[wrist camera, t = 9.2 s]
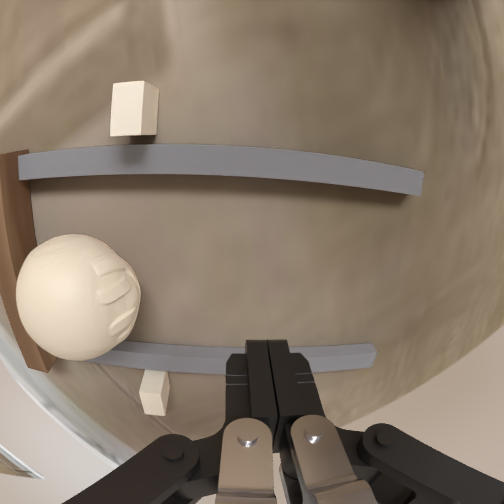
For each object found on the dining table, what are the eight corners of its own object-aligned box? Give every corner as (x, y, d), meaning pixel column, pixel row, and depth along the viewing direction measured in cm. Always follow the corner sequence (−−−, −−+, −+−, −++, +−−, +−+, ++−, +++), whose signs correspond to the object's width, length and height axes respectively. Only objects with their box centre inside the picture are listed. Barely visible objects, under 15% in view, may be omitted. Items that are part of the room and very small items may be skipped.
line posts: (159, 90, 14) (144, 80, 11) (170, 387, 21) (165, 416, 18) (132, 91, 13) (113, 83, 11) (151, 385, 21) (144, 413, 18)
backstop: (28, 149, 14) (-1, 154, 11) (62, 348, 19) (47, 372, 16) (7, 152, 14) (-21, 159, 11) (43, 344, 19) (28, 367, 16)
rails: (413, 169, 16) (424, 172, 15) (366, 357, 21) (371, 367, 20) (28, 153, 14) (18, 155, 13) (62, 346, 19) (56, 355, 18)
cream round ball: (162, 314, 19) (139, 389, 12) (69, 316, 18) (28, 378, 12) (142, 212, 16) (95, 258, 10) (42, 226, 16) (-22, 268, 9)
